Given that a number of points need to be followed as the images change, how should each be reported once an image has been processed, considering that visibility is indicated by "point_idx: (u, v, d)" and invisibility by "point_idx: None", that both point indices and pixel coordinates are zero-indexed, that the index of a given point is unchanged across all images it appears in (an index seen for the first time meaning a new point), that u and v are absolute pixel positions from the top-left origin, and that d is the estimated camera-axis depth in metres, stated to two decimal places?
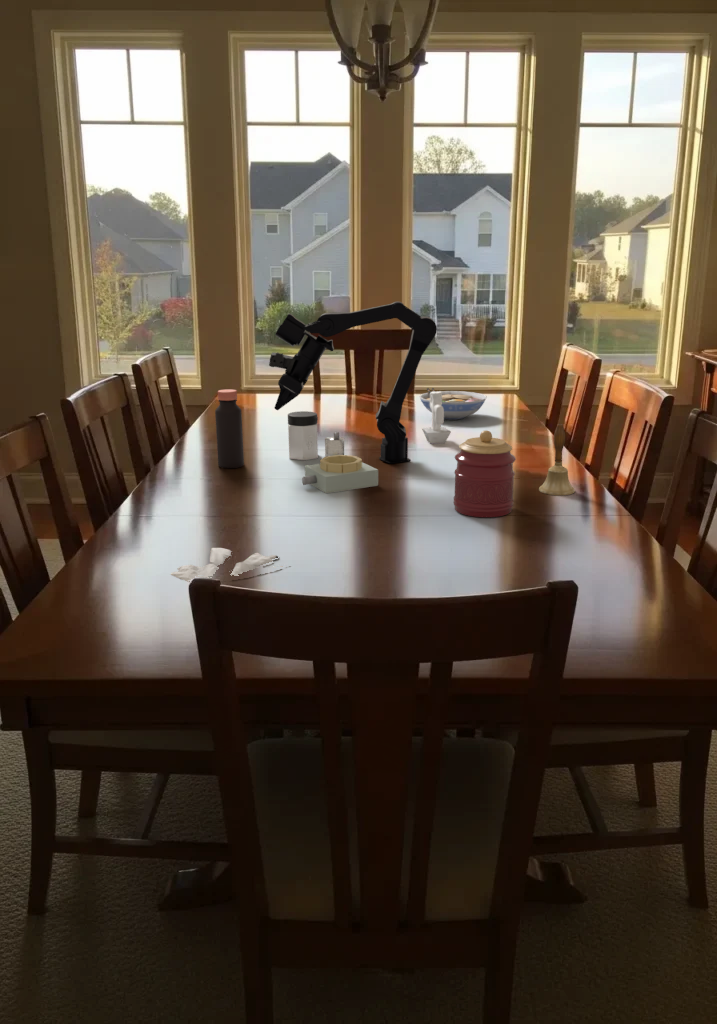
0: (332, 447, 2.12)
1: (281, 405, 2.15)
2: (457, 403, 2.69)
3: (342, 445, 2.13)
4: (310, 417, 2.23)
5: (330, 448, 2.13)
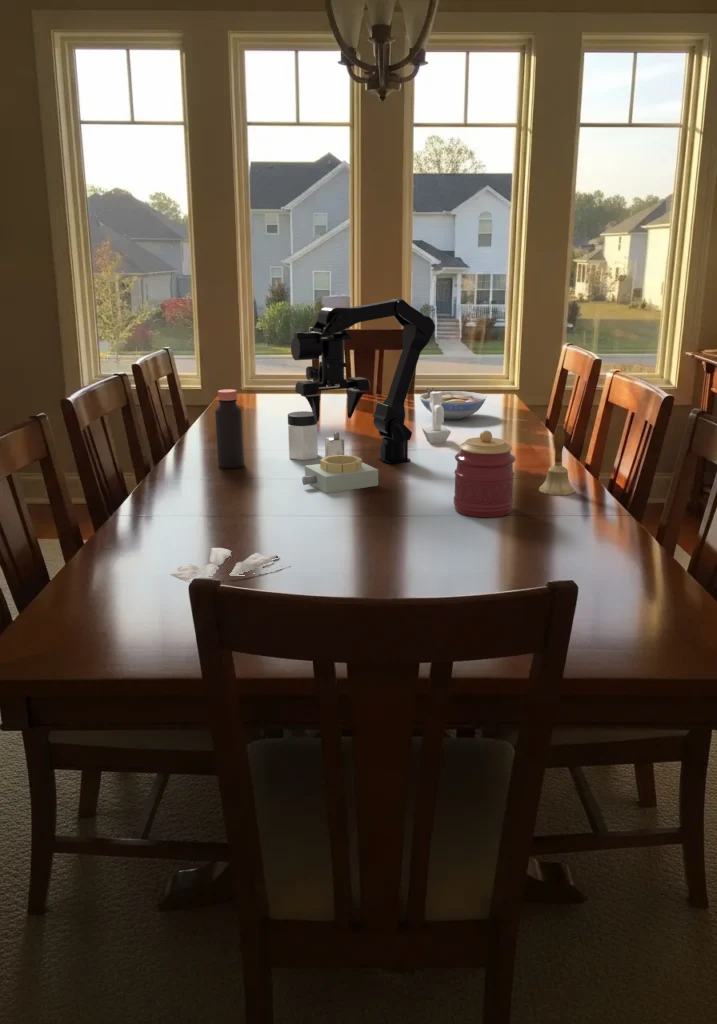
0: (332, 447, 2.12)
1: (315, 414, 2.09)
2: (457, 403, 2.69)
3: (342, 445, 2.13)
4: (310, 417, 2.23)
5: (330, 448, 2.13)
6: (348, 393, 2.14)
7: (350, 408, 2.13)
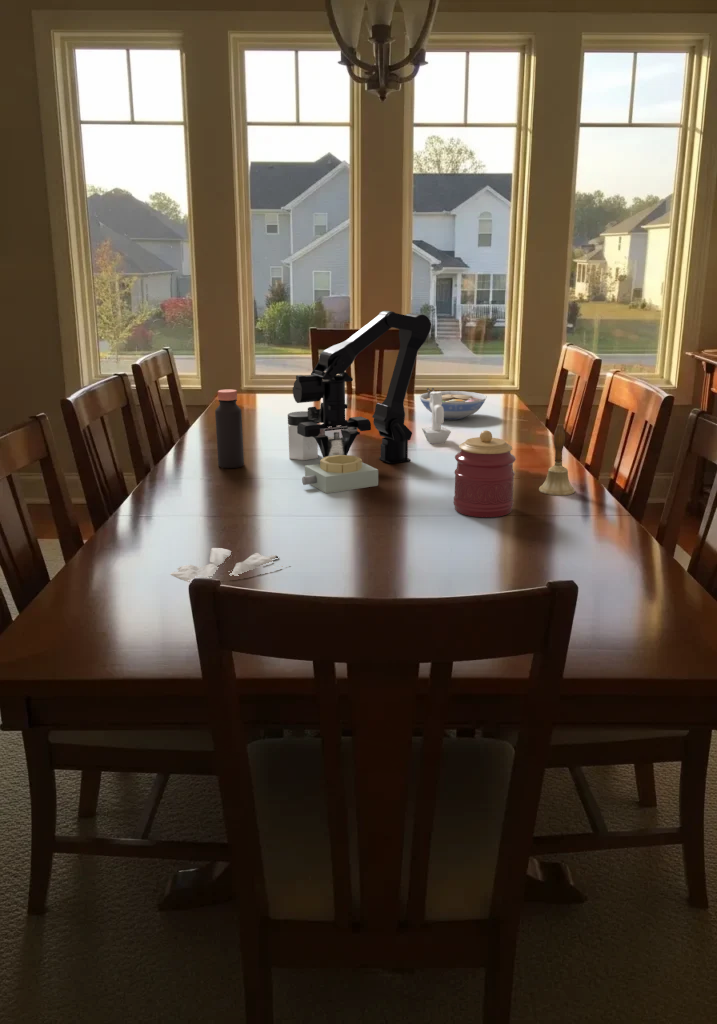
0: (332, 447, 2.12)
1: (323, 454, 2.13)
2: (457, 403, 2.69)
3: (342, 445, 2.13)
4: None
5: (330, 448, 2.13)
6: (343, 433, 2.16)
7: (345, 448, 2.16)
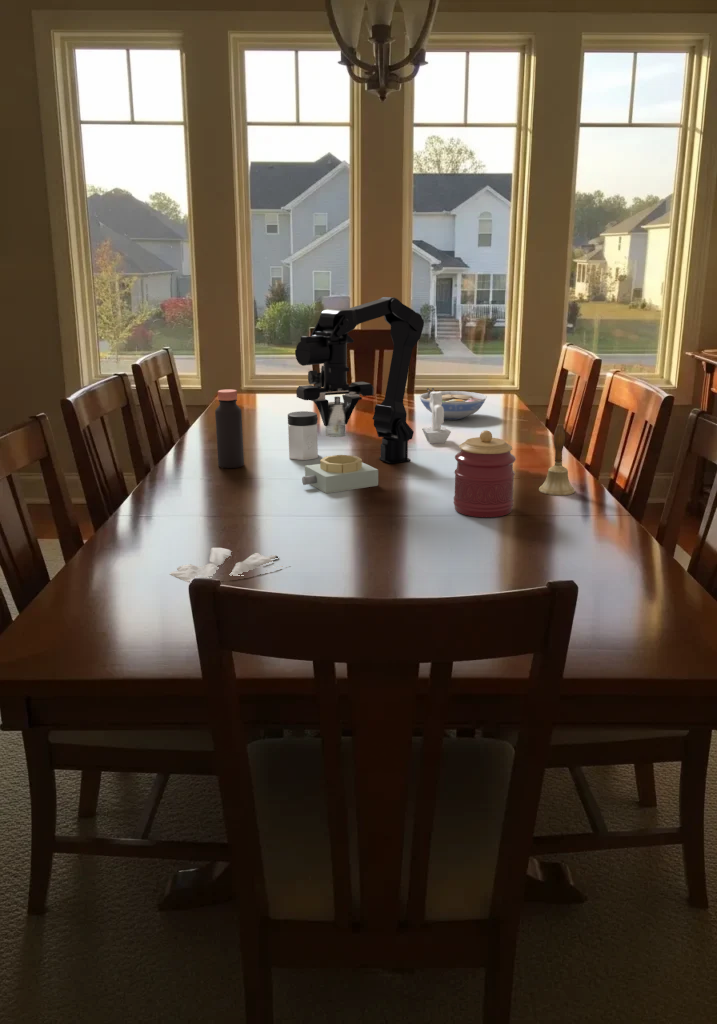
0: (332, 412, 2.04)
1: (323, 419, 2.04)
2: (457, 403, 2.69)
3: (343, 410, 2.04)
4: (310, 417, 2.23)
5: (330, 413, 2.04)
6: (344, 399, 2.08)
7: (346, 414, 2.07)
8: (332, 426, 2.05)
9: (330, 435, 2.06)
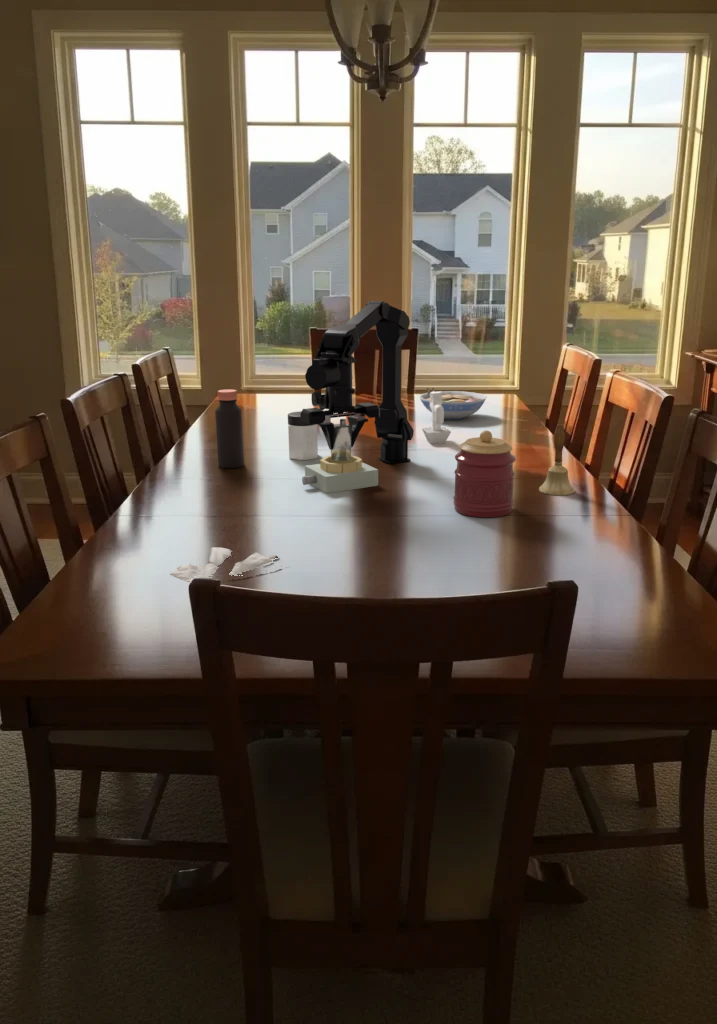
0: (338, 435, 1.97)
1: (329, 442, 1.97)
2: (457, 403, 2.69)
3: (349, 433, 1.97)
4: None
5: (336, 436, 1.97)
6: (349, 421, 2.01)
7: (352, 437, 2.00)
8: (337, 449, 1.98)
9: (336, 459, 1.99)
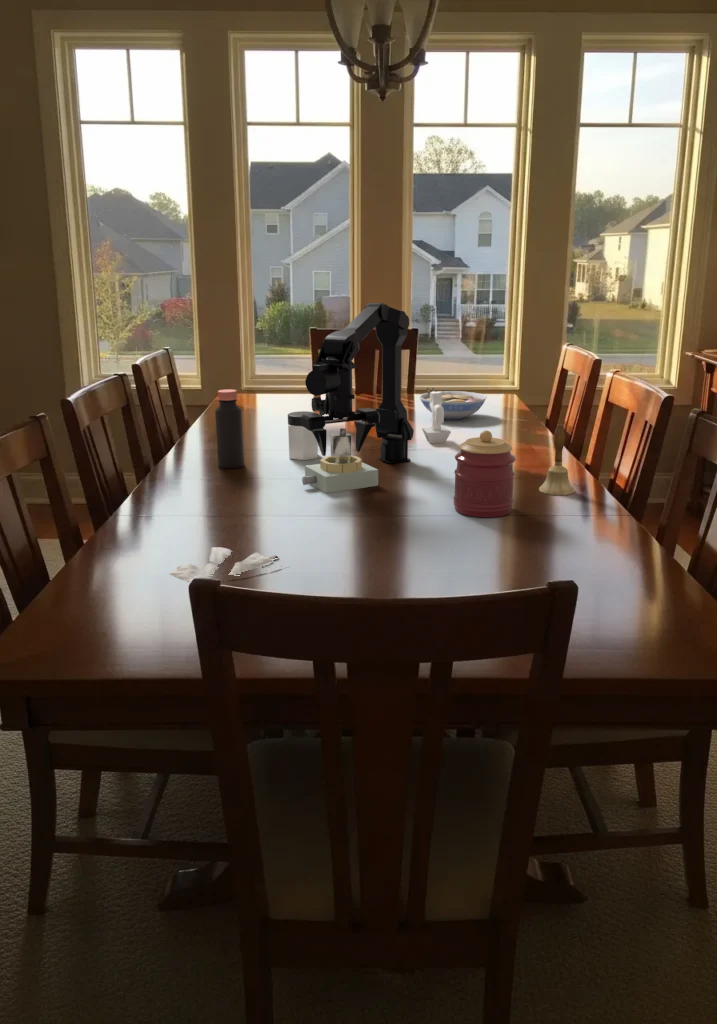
0: (338, 444, 1.97)
1: (321, 449, 1.97)
2: (457, 403, 2.69)
3: (349, 442, 1.98)
4: None
5: (336, 445, 1.97)
6: (356, 425, 2.02)
7: (359, 441, 2.01)
8: (337, 458, 1.98)
9: None
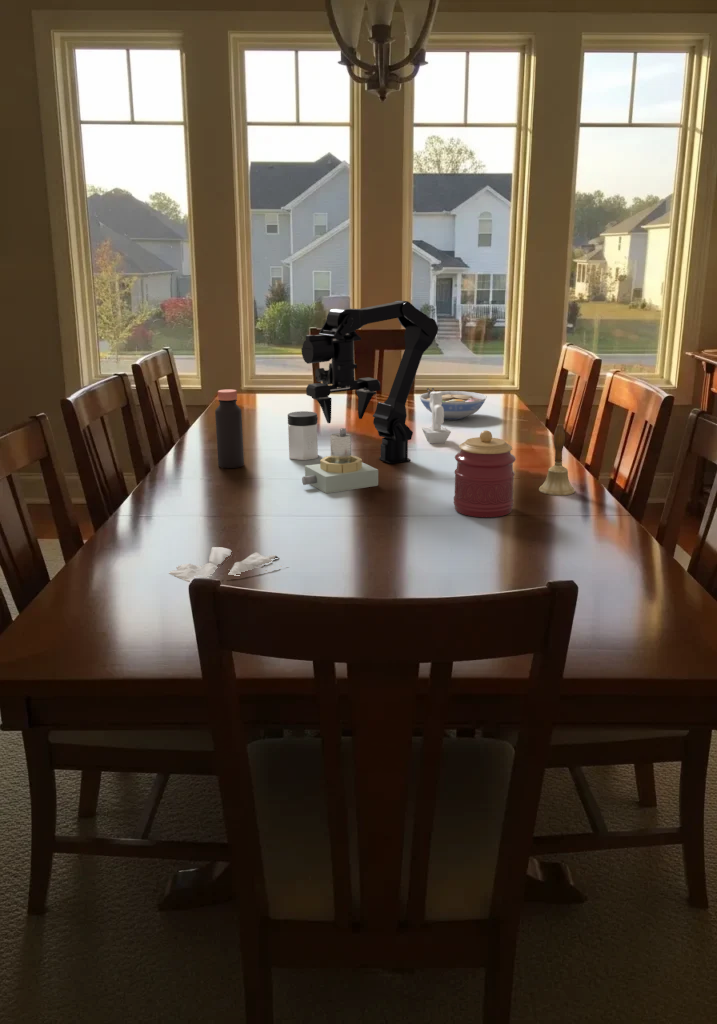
0: (338, 444, 1.97)
1: (327, 416, 2.09)
2: (457, 403, 2.69)
3: (349, 442, 1.98)
4: (310, 417, 2.23)
5: (336, 446, 1.97)
6: (358, 394, 2.14)
7: (361, 409, 2.13)
8: (337, 458, 1.98)
9: None
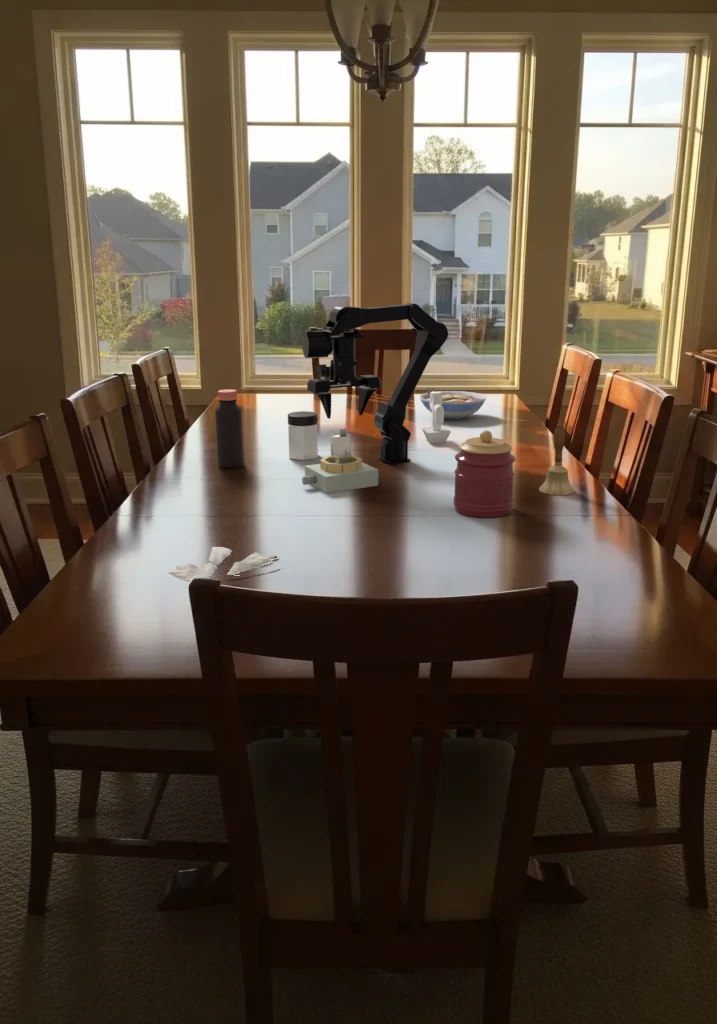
0: (338, 444, 1.97)
1: (327, 411, 2.13)
2: (457, 403, 2.69)
3: (349, 442, 1.98)
4: (310, 417, 2.23)
5: (336, 445, 1.97)
6: (359, 391, 2.18)
7: (361, 405, 2.17)
8: (337, 458, 1.98)
9: None
